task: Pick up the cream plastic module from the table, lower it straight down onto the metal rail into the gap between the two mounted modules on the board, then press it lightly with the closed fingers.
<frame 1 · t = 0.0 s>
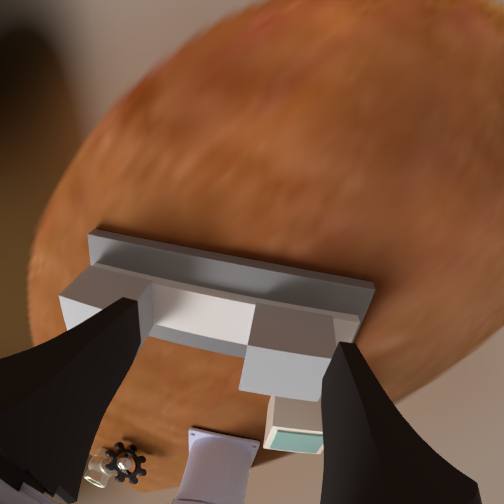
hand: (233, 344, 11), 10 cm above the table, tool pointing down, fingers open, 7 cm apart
valve: (117, 449, 39), on the table
cream module: (299, 396, 26), on the table
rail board: (220, 303, 22), on the table
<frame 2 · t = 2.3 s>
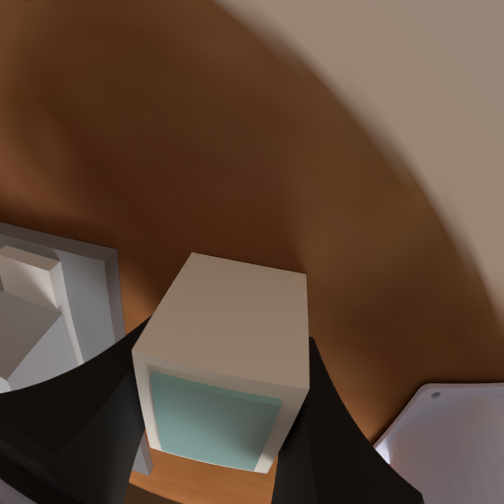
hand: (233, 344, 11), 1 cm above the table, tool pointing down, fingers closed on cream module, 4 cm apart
cream module: (239, 319, 12), on the table, touching gripper
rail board: (79, 382, 16), on the table
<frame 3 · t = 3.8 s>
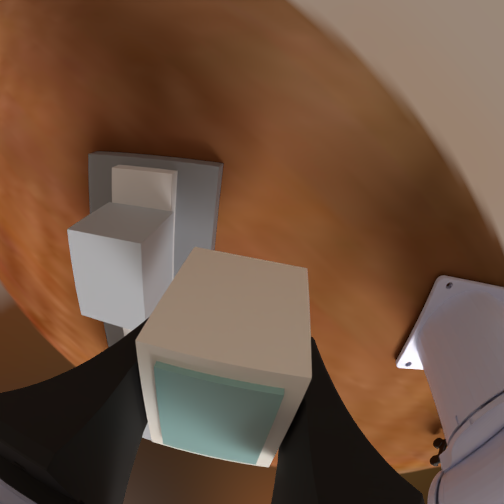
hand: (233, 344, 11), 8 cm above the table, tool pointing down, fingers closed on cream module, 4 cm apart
valve: (462, 437, 26), on the table
cream module: (240, 314, 12), point 7 cm above the table, touching gripper
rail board: (154, 300, 21), on the table
when the fingers open (4 cm above the table, at t = 5.7 s): cream module stays where it is, resting on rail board.
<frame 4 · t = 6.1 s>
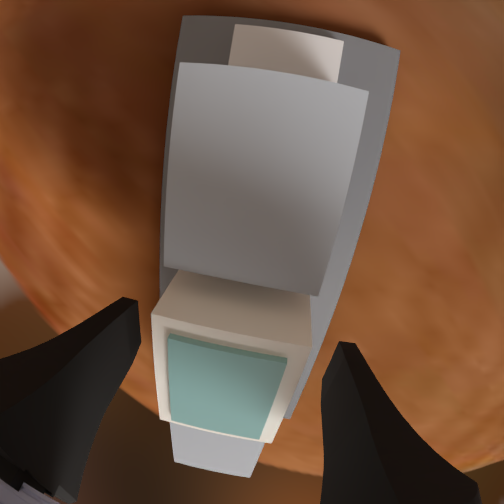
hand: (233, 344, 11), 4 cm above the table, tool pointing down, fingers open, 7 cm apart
cream module: (244, 298, 13), point 2 cm above the table, touching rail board
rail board: (252, 261, 14), on the table
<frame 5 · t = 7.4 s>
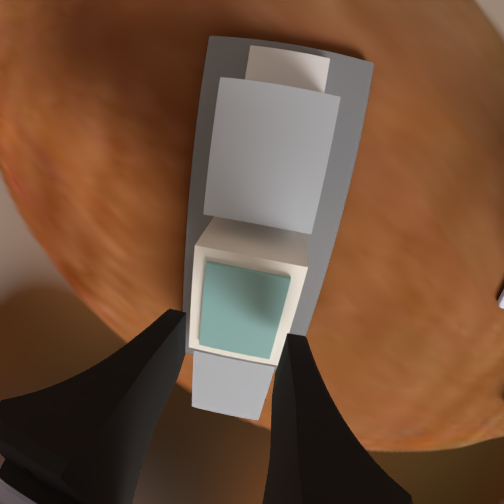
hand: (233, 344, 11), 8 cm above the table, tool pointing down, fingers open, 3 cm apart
cream module: (255, 254, 16), point 2 cm above the table, touching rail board
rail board: (261, 227, 18), on the table
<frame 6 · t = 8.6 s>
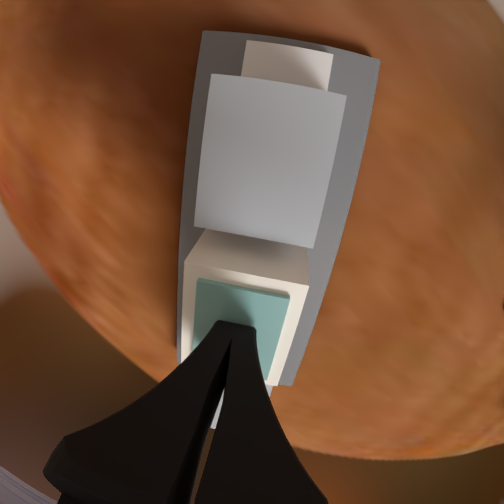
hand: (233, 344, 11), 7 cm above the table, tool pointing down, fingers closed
cream module: (252, 266, 15), point 2 cm above the table, touching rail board
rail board: (259, 236, 17), on the table
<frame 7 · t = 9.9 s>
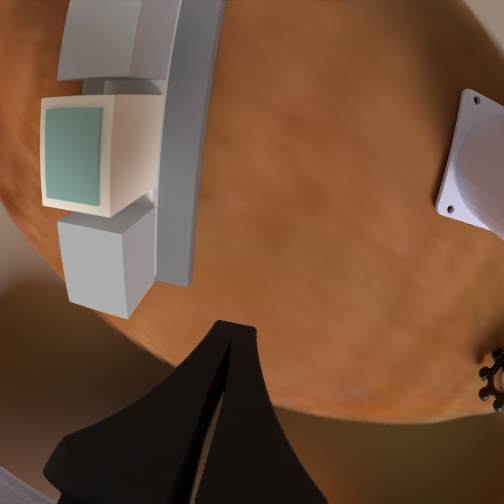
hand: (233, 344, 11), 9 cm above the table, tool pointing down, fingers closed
cream module: (127, 138, 15), point 2 cm above the table, touching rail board
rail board: (142, 121, 17), on the table
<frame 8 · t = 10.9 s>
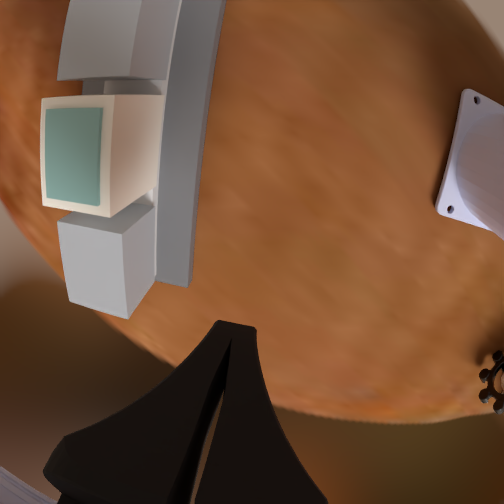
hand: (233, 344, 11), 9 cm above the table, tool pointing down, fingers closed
cream module: (127, 138, 15), point 2 cm above the table, touching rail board
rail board: (142, 121, 17), on the table
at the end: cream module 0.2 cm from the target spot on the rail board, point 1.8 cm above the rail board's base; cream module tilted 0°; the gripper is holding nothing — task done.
